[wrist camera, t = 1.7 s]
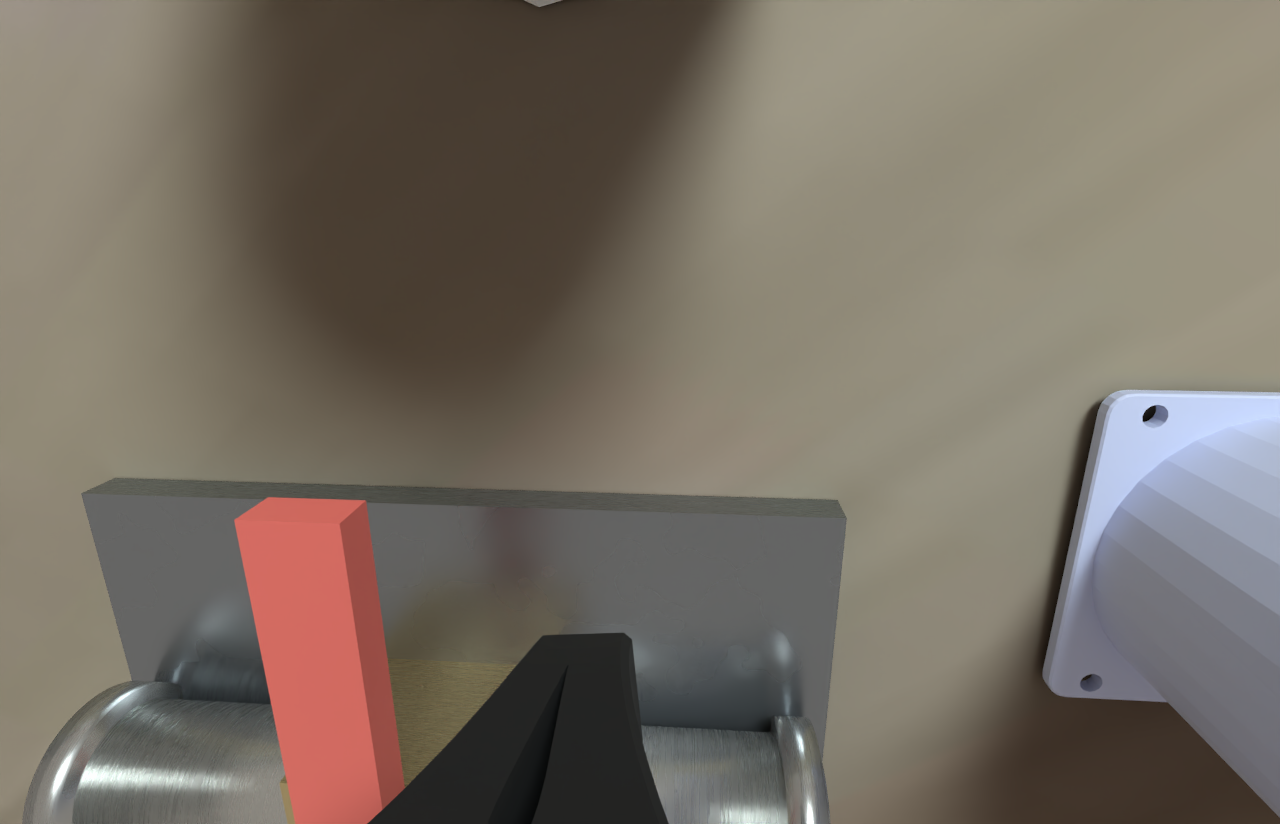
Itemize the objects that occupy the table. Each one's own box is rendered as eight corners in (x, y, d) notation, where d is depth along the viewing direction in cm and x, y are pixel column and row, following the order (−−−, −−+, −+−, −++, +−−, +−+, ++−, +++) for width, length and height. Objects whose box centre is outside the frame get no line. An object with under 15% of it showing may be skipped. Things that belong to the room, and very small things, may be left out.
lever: (455, 986, 13) (438, 1040, 12) (332, 975, 14) (308, 1027, 13) (396, 501, 10) (370, 527, 9) (237, 496, 10) (196, 522, 9)
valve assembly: (837, 500, 16) (917, 659, 10) (798, 915, 20) (839, 1193, 14) (114, 478, 17) (-167, 607, 12) (214, 870, 22) (42, 1107, 16)
